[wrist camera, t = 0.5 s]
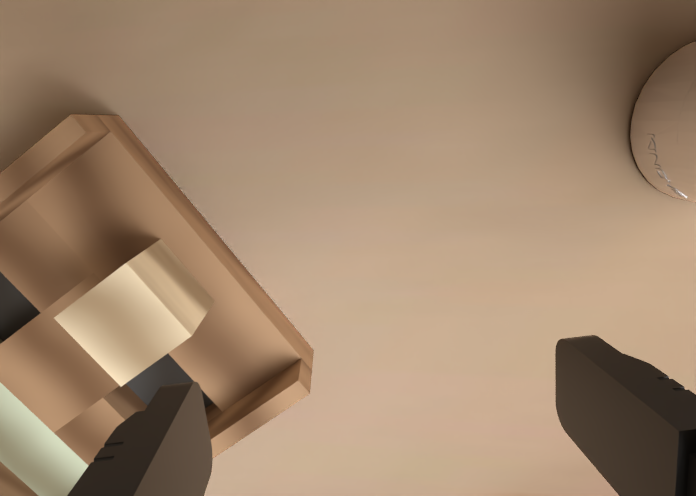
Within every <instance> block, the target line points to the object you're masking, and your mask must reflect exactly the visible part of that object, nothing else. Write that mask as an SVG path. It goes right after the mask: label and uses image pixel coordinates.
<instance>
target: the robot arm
mask: <svg viewBox="0 0 696 496" xmlns="http://www.w3.org/2000/svg"><path fill="white" fill-rule="evenodd" d="M630 139H631V145H632V152H633V156H634V158H635V161H636V163H637V166H638V168H639V170H640V171H641V173H642V174H643V175H644V177H645V178H646V179H647V181H648V182H649V183H651V184H652V185H653V186H654V187H655V188H657V189H658V190H659V191H661V192H663V193H665V194H667V195H669V196H671V197H674V198H679V199H683V200H687V201H692V202H696V41H695V42H692V43H690V44H688V45H685V46H683V47H682V48H681V49H679V50H678V51H676V52H675V53H673V54H672V55H670V56H669V57H668V58H667V59H666V60H665V61H664V62H663V63H662V64H661V65H660V66H659V67H658V68H657V69H656V70H655V71H654V72H653V74H652V75H651V76H650V78H649V79H648V81H647V82H646V84H645V85H644V86H643V89H642V91H641V93H640V95H639V97H638V99H637V102H636V104H635V108H634V112H633V116H632V120H631V135H630ZM556 409H557V413H558V417H559V420H560V422H561V425H562V427H563V429H564V430H565V432H566V433H567V434H568V435H569V437H570V438H571V439H572V440H573V441H574V443H575V444H576V445H577V446H578V447H579V448H580V450H581V451H582V452H583V453H584V454H585V456H586V457H587V458H588V459H589V460H590V461H591V463H592V464H593V465H594V466H595V467H596V469H597V470H598V471H599V472H600V473H601V474H602V476H603V477H604V478H605V479H606V480H607V482H608V483H609V484H610V485H611V486H612V487H613V489H614V490H615V491H616V492H617V493H618V495H619V496H696V395H695V394H694V393H692V392H691V391H689V390H685V389H684V386H682V385H681V384H679V383H678V382H676V381H675V380H673V379H669V378H668V376H667V375H666V374H664V373H663V372H661V371H660V370H658V369H657V368H655V367H654V366H652V365H651V364H649V363H647V362H644V361H641V360H639V359H636V358H634V357H631V356H628V355H626V354H622V353H621V352H619V351H618V350H616V349H615V348H613V347H612V346H611V345H609V344H608V343H606V342H605V341H603V340H602V339H601V338H599V337H598V336H595V335H591V336H582V337H574V338H565V339H560V340H559V341H558V342H557V345H556ZM211 470H212V444H211V439H210V433H209V428H208V422H207V417H206V412H205V406H204V401H203V396H202V391H201V388H200V385H199V384H198V382H189V383H180V384H172V385H163V386H161V387H160V388H159V389H158V391H157V392H156V394H155V395H154V397H153V398H152V400H151V401H150V403H149V404H148V406H147V408H146V409H145V411H138V412H135V413H134V414H133V415H131V416H130V417H129V418H128V419H126V420H125V421H124V422H122V423H121V424H120V425H118V426H117V427H116V428H115V430H114V431H113V432H112V434H111V435H110V437H109V438H108V439H107V441H106V442H105V444H104V447H103V448H101V449H100V451H99V452H98V453H97V455H96V456H95V458H94V462H91V463H90V465H89V466H88V467H87V469H86V470H85V472H84V473H83V474H82V476H81V477H80V479H79V480H78V481H77V483H76V484H75V485H74V487H73V488H72V490H71V491H70V492H69V494H68V495H67V496H204V493H205V490H206V487H207V484H208V481H209V478H210V475H211Z"/></svg>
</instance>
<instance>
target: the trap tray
mask: <svg viewBox="0 0 696 496" xmlns="http://www.w3.org/2000/svg"><path fill="white" fill-rule="evenodd" d="M160 239H161V240H162V241H163V242H164V243H165V244H166V245H167V246H168V248H169V249H170V250H171V251H172V252H173V253H174V255H175V256H176V257H177V258H178V259H179V260H180V261H181V263H182V264H183V265H184V266H185V267H186V268H187V270H188V271H189V272H190V273H191V274H192V275H193V276H194V278H195V279H196V280H197V281H198V282H199V283H200V285H201V286H202V287H203V288H204V289H205V290H206V291H207V293H208V294H209V295H210V296H211V297H212V298H213V300H214V301H215V302H214V303H213V305H212V306H211V308H210V309H209V311H208V312H207V314H206V315H205V317H204V318H203V320H202V321H201V323H200V324H199V326H198V327H197V329H196V330H195V332H194V333H193V335H192V336H191V337H190V338H188V339H187V340H186V341H184V342H183V343H181V344H180V345H179V346H177V347H176V348H174V349H173V350H172V351H170V352H169V353H167V354H166V355H165V356H163V357H162V358H160V359H159V360H158V361H156V362H155V363H153V364H152V365H151V366H149V367H148V368H147V369H145V370H144V371H142V372H141V373H140V374H138V375H137V376H135V377H134V378H133V379H131V380H130V381H128V382H127V383H126V384H124V385H123V386H120V385H119V384H118V383H117V382H116V381H115V380H114V379H113V378H112V377H111V376H110V375H109V374H108V373H107V372H106V371H105V370H104V369H103V368H102V367H101V366H100V365H99V364H98V363H97V362H96V361H95V360H94V359H93V358H92V357H91V356H90V355H89V354H88V353H87V352H86V351H85V350H84V349H83V348H82V347H81V345H80V344H79V343H78V342H77V341H76V340H75V339H74V338H73V337H72V336H71V335H70V334H69V333H68V332H67V331H66V330H65V329H64V328H63V327H62V326H61V325H60V324H59V323H58V322H57V321H56V320H55V319H54V317H56V316H57V315H58V314H60V313H61V312H62V311H63V310H65V309H66V308H67V307H69V306H70V305H71V304H73V303H74V302H75V301H77V300H78V299H79V298H81V297H82V296H83V295H84V294H86V293H87V292H88V291H90V290H91V289H92V288H94V287H95V286H96V285H98V284H99V283H100V282H102V281H103V280H104V279H105V278H107V277H108V276H109V275H111V274H112V273H113V272H115V271H116V270H117V269H119V268H120V267H121V266H123V265H124V264H125V263H127V262H128V261H129V260H131V259H132V258H134V257H135V256H137V255H138V254H140V253H141V252H143V251H144V250H145V249H147V248H148V247H150V246H151V245H153V244H154V243H156V242H157V241H159V240H160ZM313 351H314V350H313V349H312V348H311V347H310V346H309V344H308V343H307V342H306V341H305V340H304V338H303V337H302V336H301V335H300V334H299V332H298V331H297V330H296V329H295V328H294V326H293V325H292V324H291V323H290V322H289V320H288V319H287V318H286V317H285V315H284V314H283V313H282V312H281V311H280V309H279V308H278V307H277V306H276V305H275V303H274V302H273V301H272V300H271V299H270V297H269V296H268V295H267V294H266V293H265V291H264V290H263V289H262V288H261V287H260V285H259V284H258V283H257V282H256V281H255V279H254V278H253V277H252V276H251V274H250V273H249V272H248V271H247V270H246V268H245V267H244V266H243V265H242V264H241V262H240V261H239V260H238V259H237V258H236V256H235V255H234V254H233V253H232V252H231V250H230V249H229V248H228V247H227V246H226V244H225V243H224V242H223V241H222V240H221V238H220V237H219V236H218V235H217V233H216V232H215V231H214V230H213V229H212V227H211V226H210V225H209V224H208V223H207V221H206V220H205V219H204V218H203V217H202V215H201V214H200V213H199V212H198V211H197V209H196V208H195V207H194V206H193V205H192V203H191V202H190V201H189V200H188V199H187V197H186V196H185V195H184V194H183V192H182V191H181V190H180V189H179V188H178V186H177V185H176V184H175V183H174V182H173V180H172V179H171V178H170V177H169V176H168V174H167V173H166V172H165V171H164V170H163V168H162V167H161V166H160V165H159V164H158V162H157V161H156V160H155V159H154V158H153V156H152V155H151V154H150V153H149V151H148V150H147V149H146V148H145V147H144V145H143V144H142V143H141V142H140V141H139V139H138V138H137V137H136V136H135V135H134V133H133V132H132V131H131V130H130V129H129V127H128V126H127V125H126V124H125V123H124V121H123V120H122V119H121V118H120V117H119V115H77V114H70V115H69V116H68V117H67V118H66V119H64V120H63V121H62V122H61V123H60V124H58V125H57V126H56V127H55V128H54V129H52V130H51V131H50V132H49V133H48V134H46V135H45V136H44V137H43V138H42V139H40V140H39V141H38V142H37V143H36V144H34V145H33V146H32V147H31V148H30V149H28V150H27V151H26V152H25V153H24V154H22V155H21V156H20V157H19V158H18V159H16V160H15V161H14V162H13V163H12V164H10V165H9V166H8V167H7V168H6V169H4V170H3V171H2V172H1V173H0V496H67V495H68V494H69V492H70V491H71V490H72V488H73V487H74V485H75V484H76V483H77V481H78V480H79V479H80V477H81V476H82V474H83V473H84V472H85V470H86V469H87V467H88V466H89V465H90V463H91V462H94V458H95V456H96V455H97V453H98V452H99V451H100V449H101V448H103V447H104V444H105V442H106V441H107V439H108V438H109V437H110V435H111V434H112V432H113V431H114V430H115V428H116V427H117V426H118V425H120V424H121V423H122V422H124V421H125V420H126V419H128V418H129V417H130V416H131V415H133V414H134V413H135V412H138V411H145V409H146V408H147V406H148V404H149V403H150V401H151V400H152V398H153V397H154V395H155V394H156V392H157V391H158V389H159V388H160V387H161V386H163V385H172V384H180V383H189V382H198V384H199V385H200V388H201V391H202V396H203V401H204V406H205V412H206V417H207V422H208V428H209V433H210V439H211V444H212V459H213V458H214V457H216V456H217V455H219V454H220V453H222V452H223V451H225V450H226V449H228V448H229V447H231V446H232V445H234V444H235V443H237V442H238V441H240V440H241V439H243V438H244V437H246V436H247V435H249V434H250V433H252V432H253V431H255V430H256V429H258V428H259V427H261V426H262V425H264V424H265V423H267V422H268V421H270V420H271V419H273V418H274V417H276V416H277V415H279V414H280V413H282V412H283V411H285V410H286V409H288V408H289V407H291V406H292V405H294V404H295V403H297V402H298V401H299V400H301V399H302V398H304V397H305V396H307V395H308V394H310V385H311V374H312V362H313Z"/></svg>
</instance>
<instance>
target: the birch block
mask: <svg viewBox="0 0 696 496" xmlns="http://www.w3.org/2000/svg"><path fill="white" fill-rule="evenodd" d="M214 302H215V301H214V300H213V298H212V297H211V296H210V295H209V294H208V293H207V291H206V290H205V289H204V288H203V287H202V286H201V285H200V283H199V282H198V281H197V280H196V279H195V278H194V276H193V275H192V274H191V273H190V272H189V271H188V270H187V268H186V267H185V266H184V265H183V264H182V263H181V261H180V260H179V259H178V258H177V257H176V256H175V255H174V253H173V252H172V251H171V250H170V249H169V248H168V246H167V245H166V244H165V243H164V242H163V241H162V240H161V239H160V240H159V241H157V242H156V243H154V244H153V245H151V246H150V247H148V248H147V249H145V250H144V251H143V252H141V253H140V254H138V255H137V256H135V257H134V258H132V259H131V260H129V261H128V262H127V263H125V264H124V265H123V266H121V267H120V268H119V269H117V270H116V271H115V272H113V273H112V274H111V275H109V276H108V277H107V278H105V279H104V280H103V281H102V282H100V283H99V284H98V285H96V286H95V287H94V288H92V289H91V290H90V291H88V292H87V293H86V294H84V295H83V296H82V297H81V298H79V299H78V300H77V301H75V302H74V303H73V304H71V305H70V306H69V307H67V308H66V309H65V310H63V311H62V312H61V313H60V314H58V315H57V316H56V317H54V319H55V320H56V321H57V322H58V323H59V324H60V325H61V326H62V327H63V328H64V329H65V330H66V331H67V332H68V333H69V334H70V335H71V336H72V337H73V338H74V339H75V340H76V341H77V342H78V343H79V344H80V345H81V347H82V348H83V349H84V350H85V351H86V352H87V353H88V354H89V355H90V356H91V357H92V358H93V359H94V360H95V361H96V362H97V363H98V364H99V365H100V366H101V367H102V368H103V369H104V370H105V371H106V372H107V373H108V374H109V375H110V376H111V377H112V378H113V379H114V380H115V381H116V382H117V383H118V384H119V385H120V386H123V385H124V384H126V383H127V382H128V381H130V380H131V379H133V378H134V377H135V376H137V375H138V374H140V373H141V372H142V371H144V370H145V369H147V368H148V367H149V366H151V365H152V364H153V363H155V362H156V361H158V360H159V359H160V358H162V357H163V356H165V355H166V354H167V353H169V352H170V351H172V350H173V349H174V348H176V347H177V346H179V345H180V344H181V343H183V342H184V341H186V340H187V339H188V338H190V337H191V336H192V335H193V333H194V332H195V330H196V329H197V327H198V326H199V324H200V323H201V321H202V320H203V318H204V317H205V315H206V314H207V312H208V311H209V309H210V308H211V306H212V305H213V303H214Z"/></svg>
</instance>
